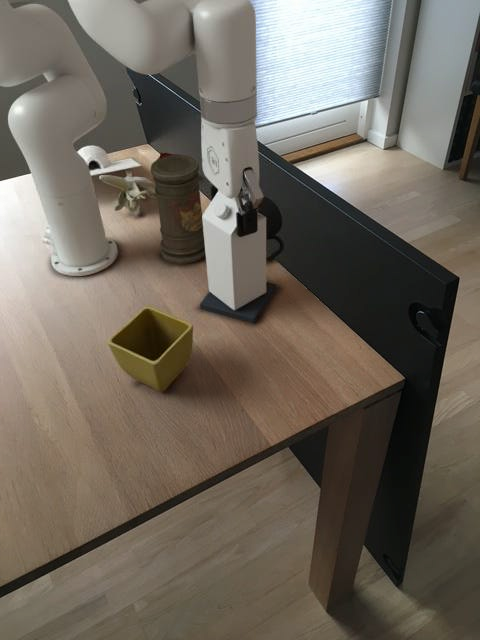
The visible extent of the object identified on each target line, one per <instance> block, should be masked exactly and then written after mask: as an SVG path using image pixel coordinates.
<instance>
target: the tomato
mask: <svg viewBox="0 0 480 640" xmlns="http://www.w3.org/2000/svg"><path fill="white" fill-rule="evenodd" d="M171 155H180V154H178V153H170V152H169V153H168V152H160V155H159V157H157V158H156V160H158V159H160V158H163V157H166V156H171Z"/></svg>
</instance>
